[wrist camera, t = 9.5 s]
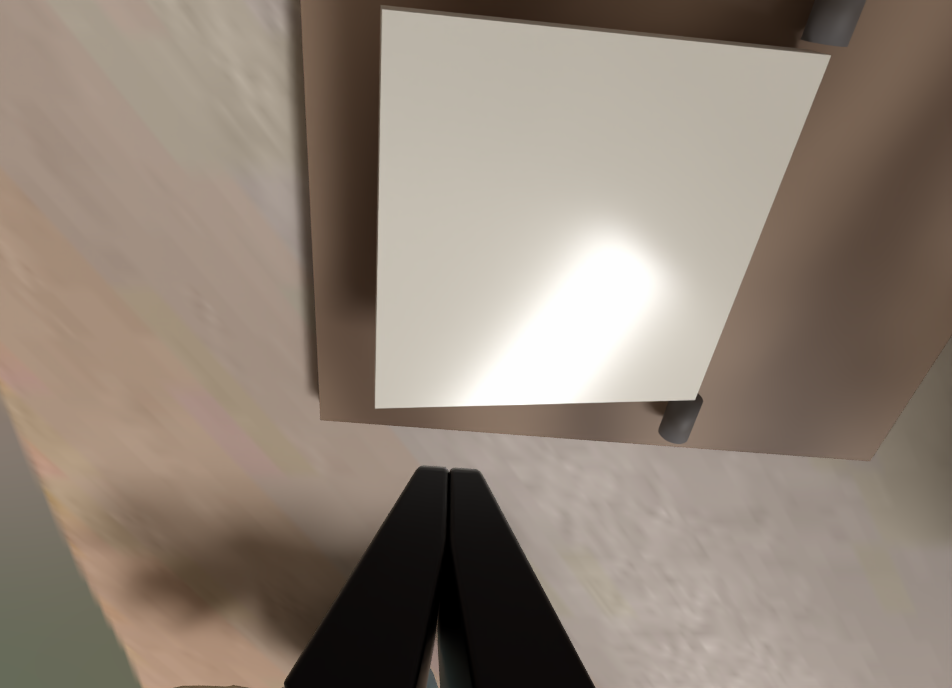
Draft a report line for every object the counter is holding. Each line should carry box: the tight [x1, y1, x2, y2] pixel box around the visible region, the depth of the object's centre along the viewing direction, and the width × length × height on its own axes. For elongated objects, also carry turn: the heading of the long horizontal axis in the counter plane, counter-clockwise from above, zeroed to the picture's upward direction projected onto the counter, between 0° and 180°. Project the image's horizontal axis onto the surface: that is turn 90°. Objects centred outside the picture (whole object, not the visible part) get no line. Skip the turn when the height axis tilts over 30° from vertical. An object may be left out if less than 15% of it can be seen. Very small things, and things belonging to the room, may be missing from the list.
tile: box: [374, 5, 831, 409], centre depth 16 cm, size 10×10×1 cm
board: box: [300, 0, 952, 461], centre depth 17 cm, size 20×16×2 cm
